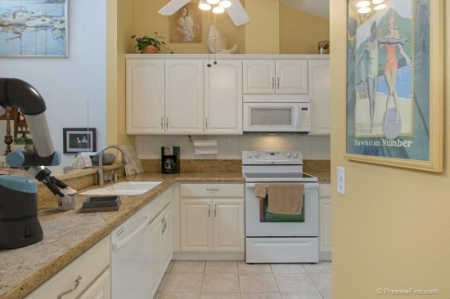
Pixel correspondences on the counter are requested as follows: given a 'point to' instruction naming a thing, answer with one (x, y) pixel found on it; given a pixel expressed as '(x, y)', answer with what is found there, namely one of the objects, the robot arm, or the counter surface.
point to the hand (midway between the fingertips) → (72, 198)
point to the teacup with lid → (72, 203)
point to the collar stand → (101, 204)
